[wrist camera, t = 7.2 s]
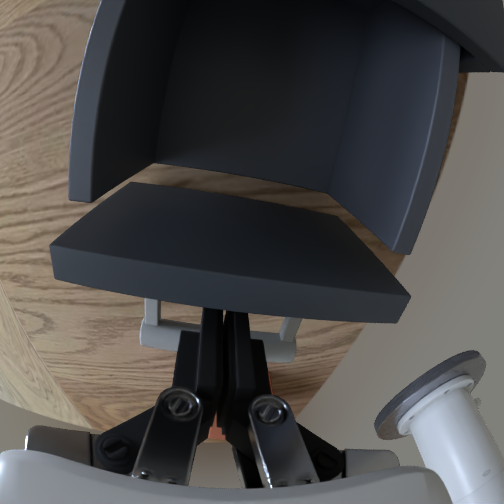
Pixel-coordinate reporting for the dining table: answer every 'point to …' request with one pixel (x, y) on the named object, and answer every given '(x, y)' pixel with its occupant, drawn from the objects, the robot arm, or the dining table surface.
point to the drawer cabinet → (468, 29)
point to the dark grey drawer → (255, 156)
